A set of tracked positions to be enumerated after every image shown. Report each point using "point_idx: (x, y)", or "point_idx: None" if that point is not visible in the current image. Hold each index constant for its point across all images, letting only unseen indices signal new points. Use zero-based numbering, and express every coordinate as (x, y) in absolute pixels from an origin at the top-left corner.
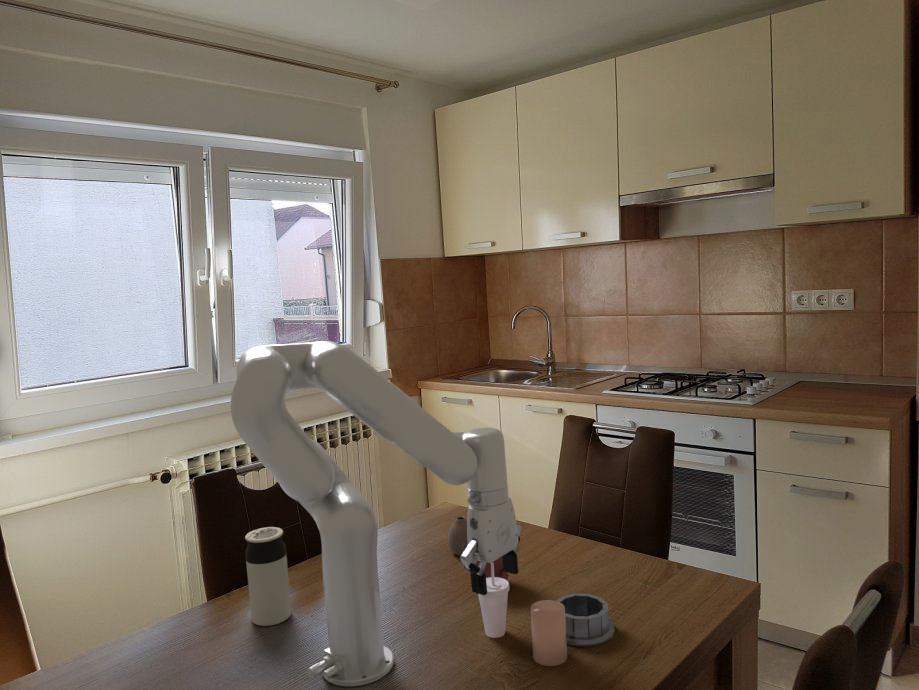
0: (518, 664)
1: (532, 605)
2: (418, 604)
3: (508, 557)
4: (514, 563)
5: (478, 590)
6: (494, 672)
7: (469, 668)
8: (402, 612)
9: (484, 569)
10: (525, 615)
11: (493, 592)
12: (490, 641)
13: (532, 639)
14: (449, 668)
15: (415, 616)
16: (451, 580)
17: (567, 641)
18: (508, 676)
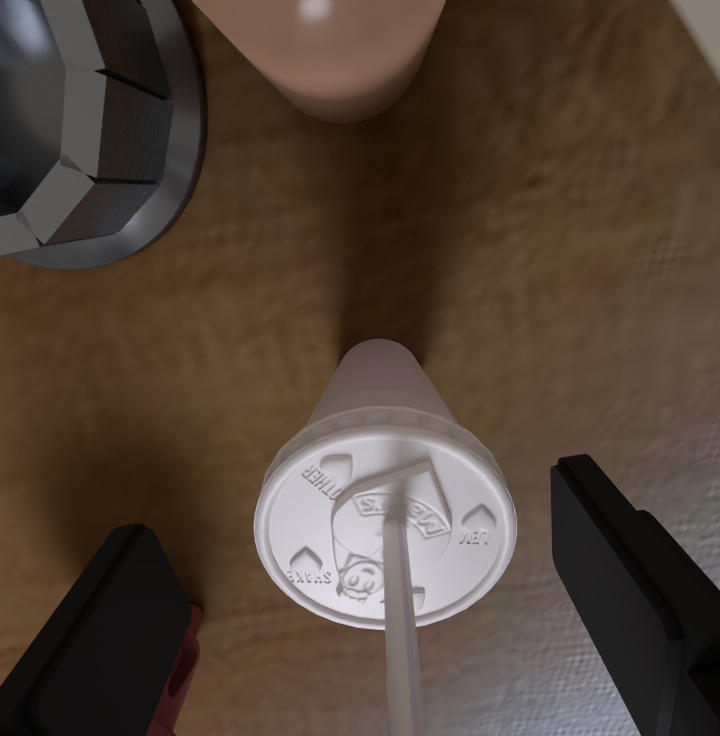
0: (504, 94)
1: (380, 10)
2: (431, 671)
3: (98, 719)
4: (95, 616)
5: (643, 514)
6: (631, 129)
7: (666, 245)
8: (502, 668)
9: (163, 693)
10: (188, 391)
11: (473, 451)
12: (440, 343)
13: (426, 45)
14: (712, 307)
15: (494, 631)
16: (248, 705)
17: (184, 33)
18: (622, 42)
